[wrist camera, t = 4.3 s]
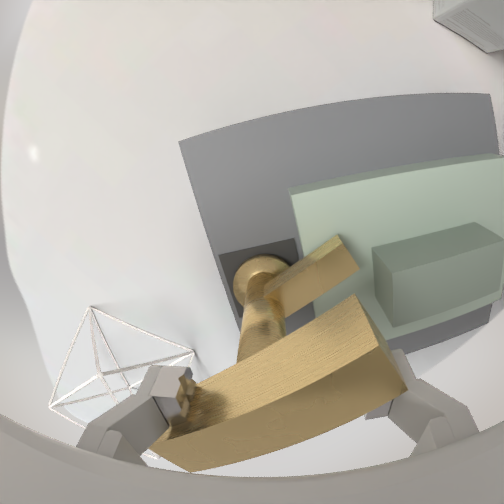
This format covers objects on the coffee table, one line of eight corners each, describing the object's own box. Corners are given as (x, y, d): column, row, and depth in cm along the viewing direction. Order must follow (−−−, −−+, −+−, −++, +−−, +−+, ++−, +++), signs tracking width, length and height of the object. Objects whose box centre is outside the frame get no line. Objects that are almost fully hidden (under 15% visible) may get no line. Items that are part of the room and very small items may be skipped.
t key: (318, 207, 15) (386, 318, 6) (352, 256, 16) (427, 389, 7) (189, 300, 18) (132, 438, 9) (227, 338, 19) (201, 477, 9)
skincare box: (485, 18, 12) (576, -7, 1) (486, 56, 14) (590, 43, 2) (429, -17, 12) (512, -72, 1) (428, 21, 13) (529, -28, 2)
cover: (490, 153, 13) (541, 165, 9) (487, 286, 17) (523, 320, 12) (288, 188, 15) (297, 211, 11) (318, 336, 19) (329, 391, 14)
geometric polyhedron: (67, 327, 26) (21, 384, 17) (121, 275, 23) (62, 342, 14) (149, 402, 29) (126, 465, 21) (218, 370, 26) (202, 451, 18)
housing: (458, 96, 16) (490, 93, 12) (466, 299, 22) (488, 323, 18) (195, 140, 18) (177, 141, 15) (261, 353, 25) (260, 387, 21)
